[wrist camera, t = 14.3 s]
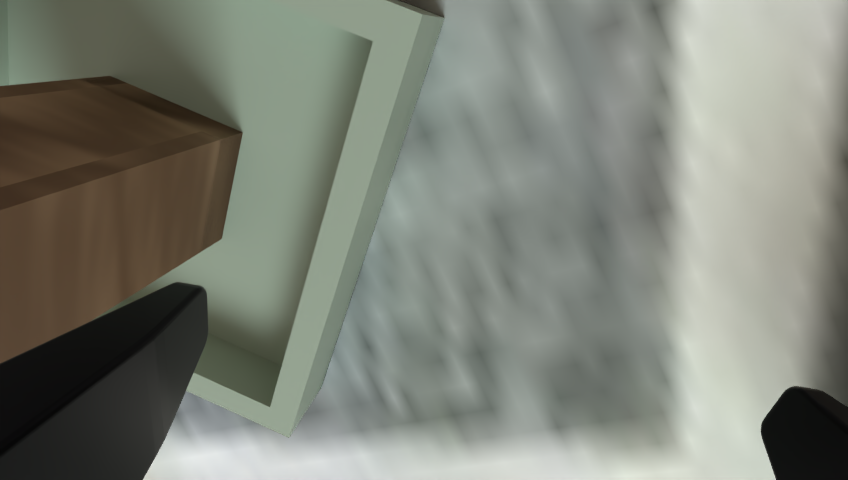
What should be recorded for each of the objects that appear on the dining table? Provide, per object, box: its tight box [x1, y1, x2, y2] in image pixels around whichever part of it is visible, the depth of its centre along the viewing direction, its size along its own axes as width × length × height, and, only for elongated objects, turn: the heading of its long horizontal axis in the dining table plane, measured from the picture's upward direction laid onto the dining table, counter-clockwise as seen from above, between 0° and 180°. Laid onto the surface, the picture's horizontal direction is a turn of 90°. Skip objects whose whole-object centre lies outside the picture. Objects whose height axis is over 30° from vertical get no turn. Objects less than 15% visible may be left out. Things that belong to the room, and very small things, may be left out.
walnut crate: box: [0, 76, 243, 363], centre depth 16 cm, size 6×5×12 cm
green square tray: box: [0, 0, 444, 438], centre depth 21 cm, size 18×18×4 cm
